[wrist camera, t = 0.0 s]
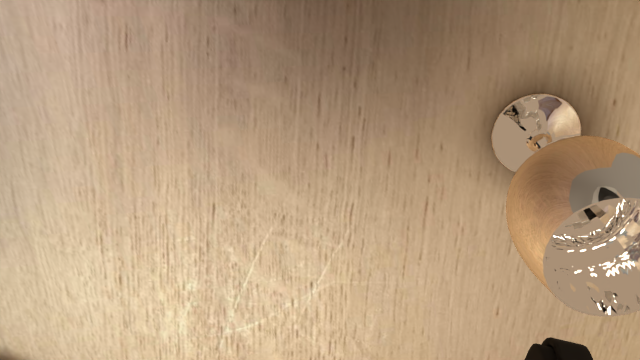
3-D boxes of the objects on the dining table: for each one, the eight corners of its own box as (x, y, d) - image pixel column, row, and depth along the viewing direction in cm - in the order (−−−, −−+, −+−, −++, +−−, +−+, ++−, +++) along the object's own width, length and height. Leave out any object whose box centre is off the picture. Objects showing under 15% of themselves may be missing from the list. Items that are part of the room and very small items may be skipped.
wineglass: (619, 119, 30) (748, 240, 20) (543, 204, 33) (621, 355, 22) (526, 58, 30) (606, 148, 19) (455, 150, 32) (490, 278, 21)
